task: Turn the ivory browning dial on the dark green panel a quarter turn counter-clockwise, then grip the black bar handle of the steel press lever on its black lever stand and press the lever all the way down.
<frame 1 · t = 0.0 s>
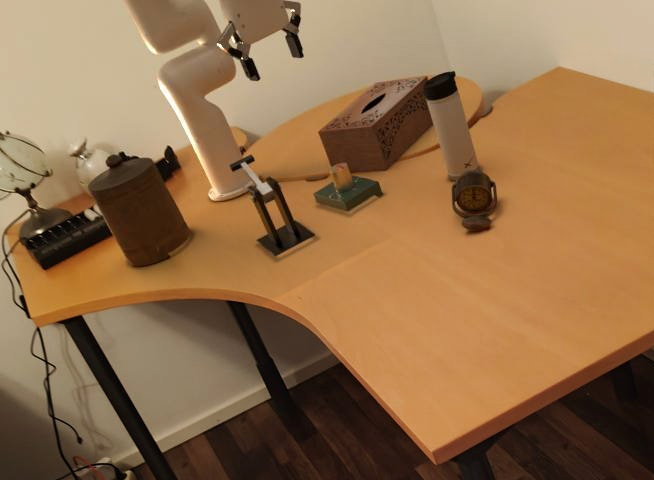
hand: (277, 68, 152), 31 cm above the table, tool pointing down, fingers open, 9 cm apart
travel mug: (465, 174, 170), on the table
browning dial: (341, 176, 173), point 5 cm above the table, hinge at 0.0°
wooden container: (160, 249, 187), on the table
black lever stand: (287, 242, 169), on the table
tissue box cover: (387, 145, 196), on the table
dial panel: (350, 200, 176), on the table
press lever: (254, 179, 165), point 13 cm above the table, hinge at 25.0°
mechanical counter: (475, 217, 153), on the table
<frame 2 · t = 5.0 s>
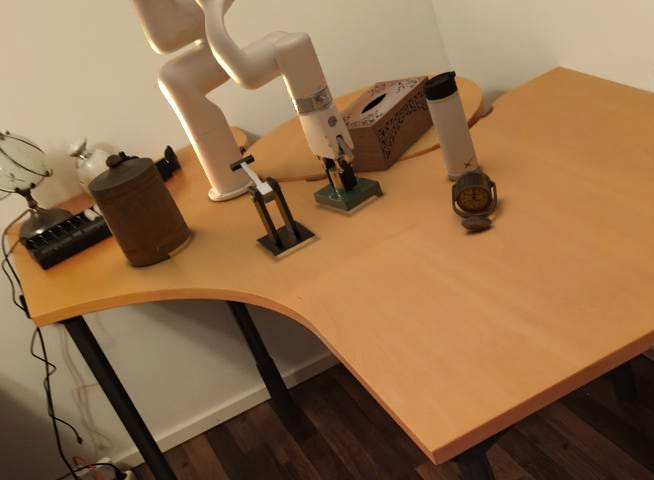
hand: (344, 184, 174), 4 cm above the table, tool pointing down, fingers closed on browning dial, 4 cm apart
browning dial: (341, 176, 173), point 5 cm above the table, hinge at -0.1°, touching gripper
everything else where it was.
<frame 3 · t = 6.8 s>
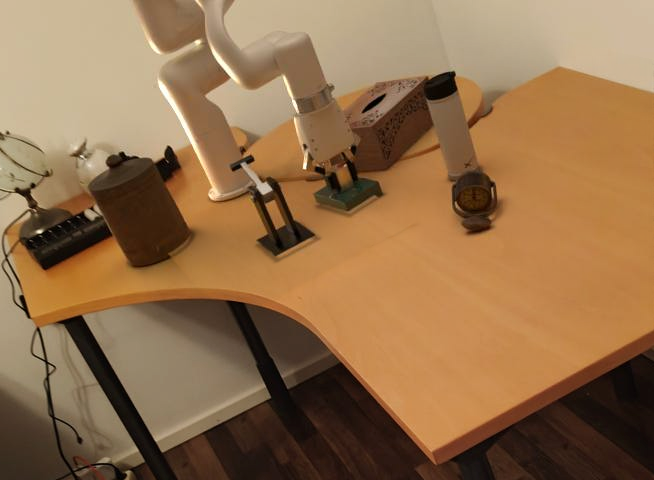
hand: (344, 184, 174), 4 cm above the table, tool pointing down, fingers closed on browning dial, 4 cm apart
browning dial: (341, 176, 173), point 5 cm above the table, hinge at 90.4°, touching gripper
everything else where it was.
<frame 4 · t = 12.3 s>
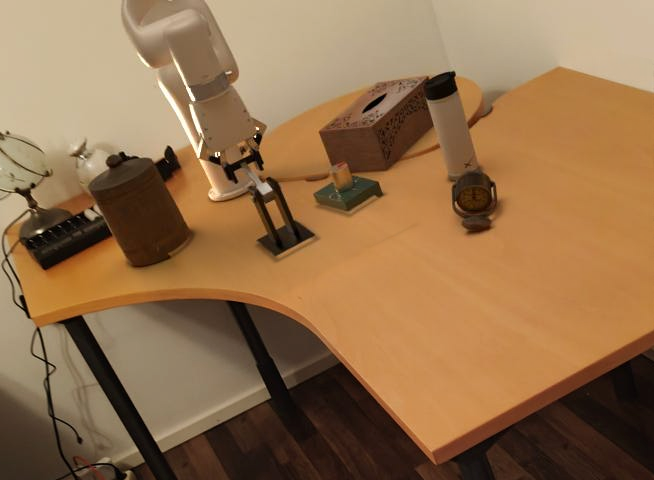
hand: (247, 174, 169), 13 cm above the table, tool pointing down, fingers closed on press lever, 5 cm apart
browning dial: (341, 176, 173), point 5 cm above the table, hinge at 91.4°
press lever: (254, 179, 165), point 13 cm above the table, hinge at 25.0°, touching gripper
everything else where it was.
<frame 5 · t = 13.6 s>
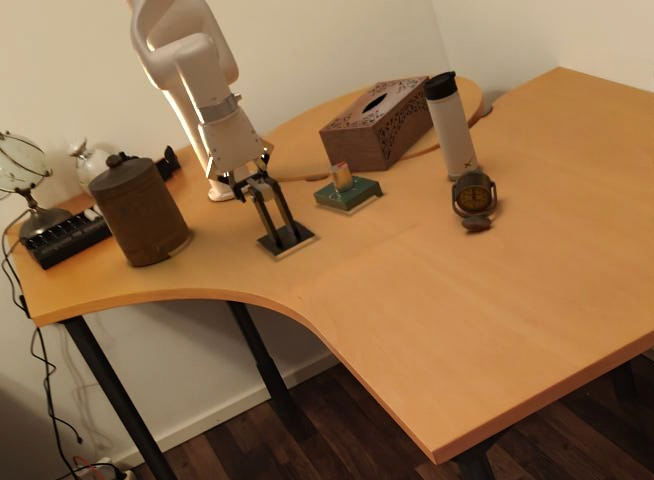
hand: (255, 194, 172), 8 cm above the table, tool pointing down, fingers closed on press lever, 5 cm apart
press lever: (257, 187, 166), point 11 cm above the table, hinge at 0.9°, touching gripper
everything else where it was.
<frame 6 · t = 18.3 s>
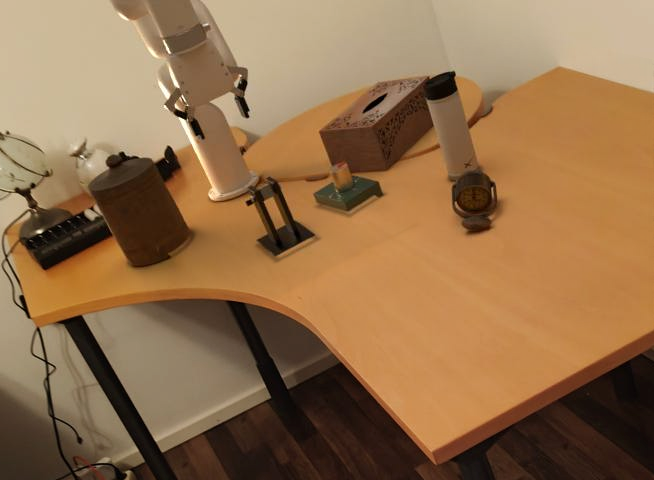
hand: (224, 127, 165), 22 cm above the table, tool pointing down, fingers open, 9 cm apart
press lever: (261, 195, 167), point 9 cm above the table, hinge at -21.6°
everything else where it was.
at the end: browning dial at +91° (first picture: +0°); press lever at -22° (first picture: +25°) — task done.
